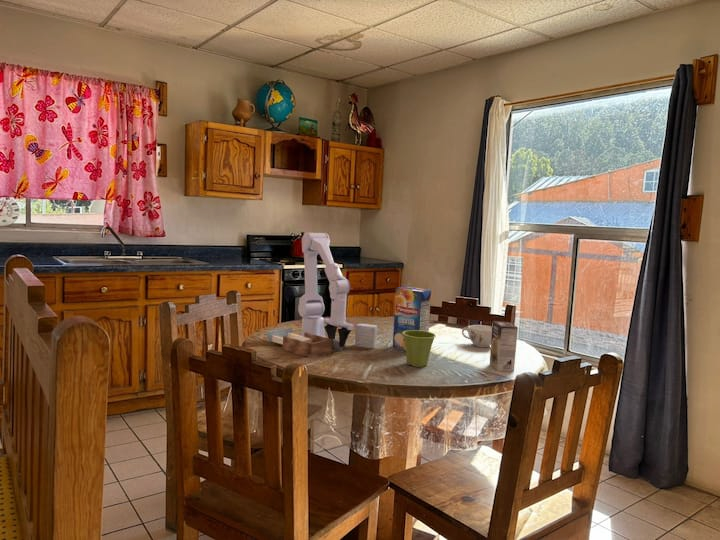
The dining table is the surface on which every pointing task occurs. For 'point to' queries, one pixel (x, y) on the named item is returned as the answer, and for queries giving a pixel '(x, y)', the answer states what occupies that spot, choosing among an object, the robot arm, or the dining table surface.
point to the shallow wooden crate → (308, 345)
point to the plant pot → (418, 347)
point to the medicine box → (366, 336)
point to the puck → (336, 345)
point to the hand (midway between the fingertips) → (336, 345)
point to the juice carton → (410, 313)
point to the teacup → (479, 335)
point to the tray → (279, 333)
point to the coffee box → (503, 346)
